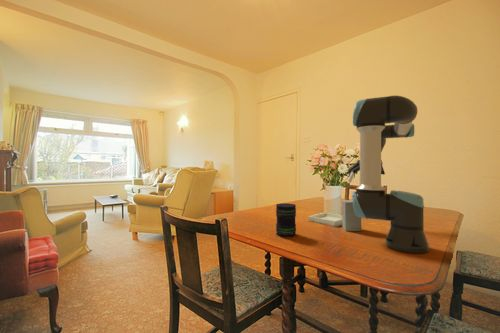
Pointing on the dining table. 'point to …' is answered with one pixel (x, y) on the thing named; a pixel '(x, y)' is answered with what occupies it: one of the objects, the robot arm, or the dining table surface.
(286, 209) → the storage jar
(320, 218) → the sage tray
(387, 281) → the dining table surface
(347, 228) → the skincare box
